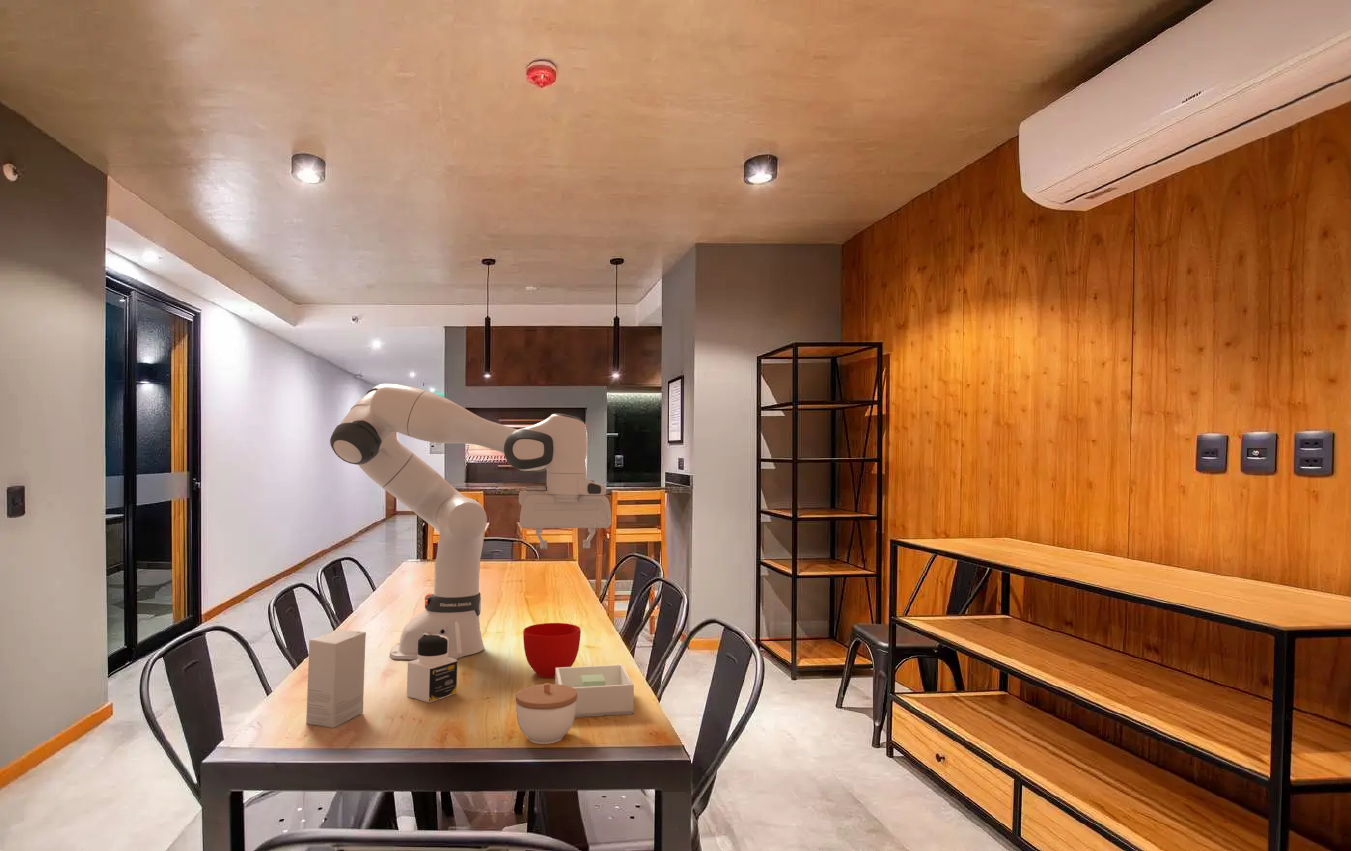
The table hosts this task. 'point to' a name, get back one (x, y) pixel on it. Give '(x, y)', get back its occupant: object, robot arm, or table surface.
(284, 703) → the table surface
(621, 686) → the tub
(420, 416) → the robot arm
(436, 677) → the medicine bottle
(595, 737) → the table surface
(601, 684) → the sage cube
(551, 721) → the lidded jar
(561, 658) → the ceramic cup
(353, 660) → the skincare box
